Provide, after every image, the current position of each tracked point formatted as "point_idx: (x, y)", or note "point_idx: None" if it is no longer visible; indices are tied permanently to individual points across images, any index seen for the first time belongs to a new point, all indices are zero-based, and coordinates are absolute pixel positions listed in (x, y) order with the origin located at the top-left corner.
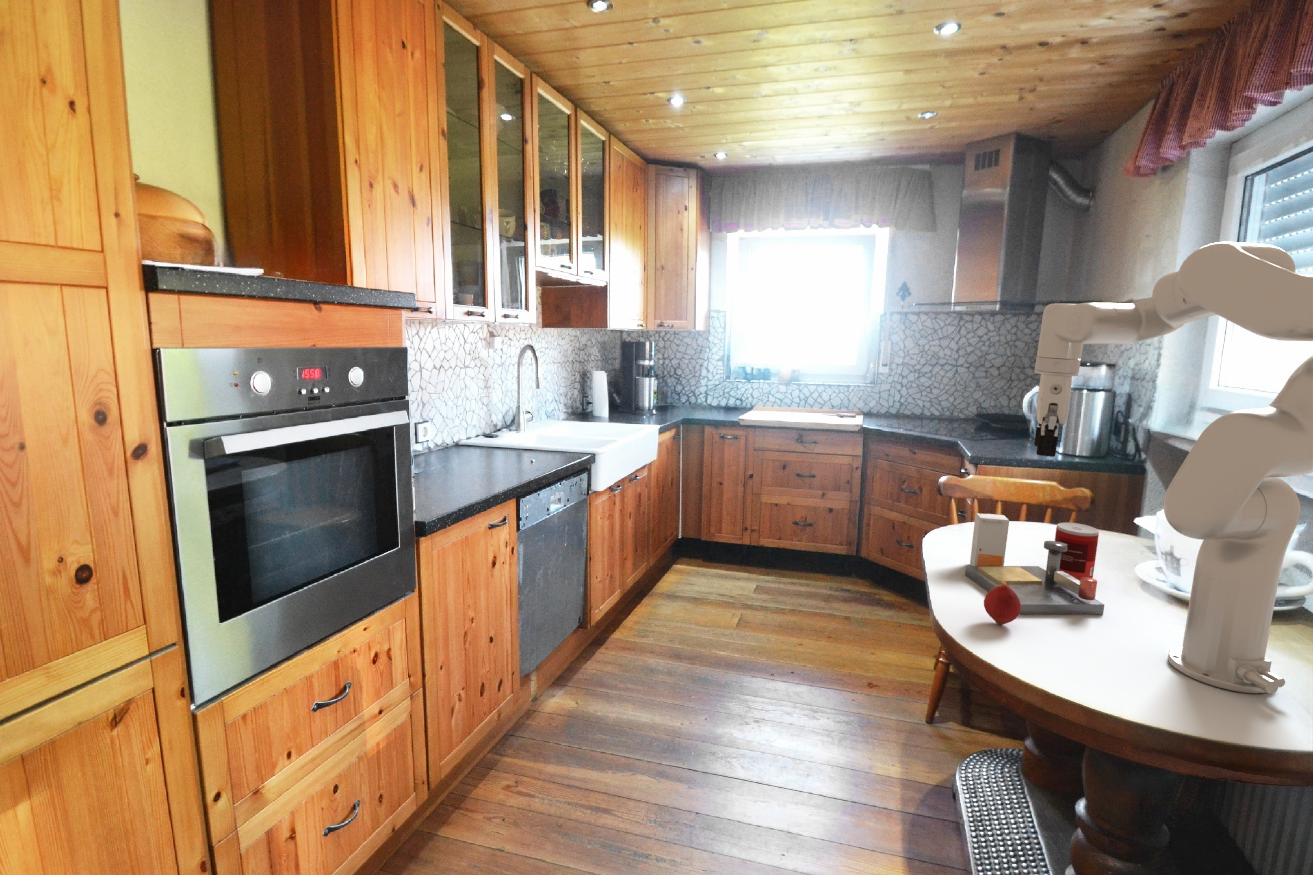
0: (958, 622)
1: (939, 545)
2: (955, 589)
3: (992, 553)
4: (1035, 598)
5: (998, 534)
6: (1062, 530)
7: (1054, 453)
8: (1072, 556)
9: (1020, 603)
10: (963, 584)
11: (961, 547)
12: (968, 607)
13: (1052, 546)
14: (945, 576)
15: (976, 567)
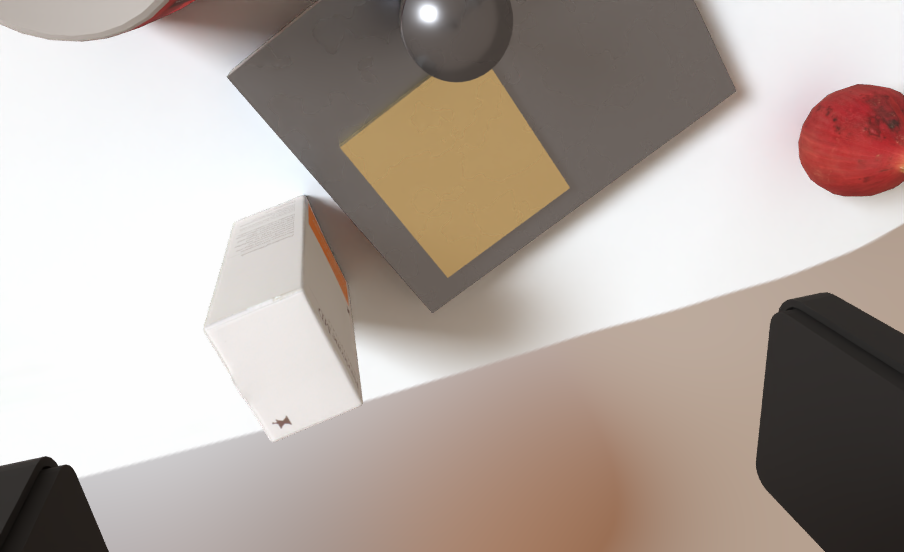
0: (839, 224)
1: (124, 447)
2: (589, 287)
3: (328, 264)
4: (654, 51)
5: (323, 289)
6: (165, 1)
7: (848, 316)
8: None
9: (886, 92)
10: (528, 279)
11: (76, 383)
12: (721, 224)
13: (509, 37)
14: (483, 340)
15: (425, 280)
